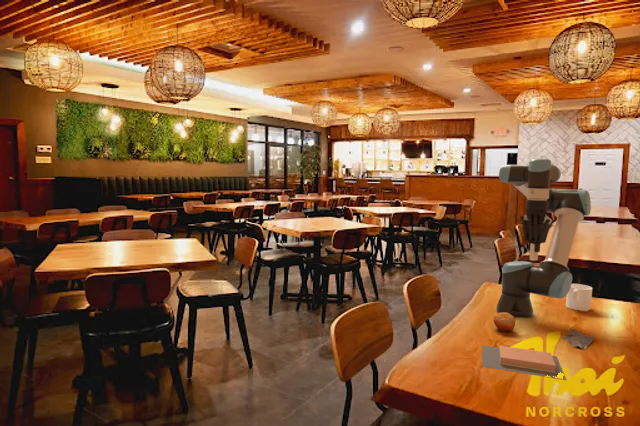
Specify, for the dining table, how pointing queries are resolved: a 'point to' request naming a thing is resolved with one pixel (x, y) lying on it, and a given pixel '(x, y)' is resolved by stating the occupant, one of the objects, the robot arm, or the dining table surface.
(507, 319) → the fruit
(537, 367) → the terracotta tile
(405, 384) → the dining table surface
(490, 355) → the rubber mat
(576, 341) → the stone slab
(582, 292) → the mug
